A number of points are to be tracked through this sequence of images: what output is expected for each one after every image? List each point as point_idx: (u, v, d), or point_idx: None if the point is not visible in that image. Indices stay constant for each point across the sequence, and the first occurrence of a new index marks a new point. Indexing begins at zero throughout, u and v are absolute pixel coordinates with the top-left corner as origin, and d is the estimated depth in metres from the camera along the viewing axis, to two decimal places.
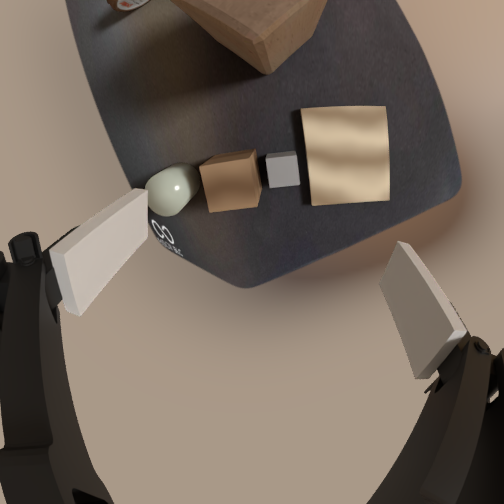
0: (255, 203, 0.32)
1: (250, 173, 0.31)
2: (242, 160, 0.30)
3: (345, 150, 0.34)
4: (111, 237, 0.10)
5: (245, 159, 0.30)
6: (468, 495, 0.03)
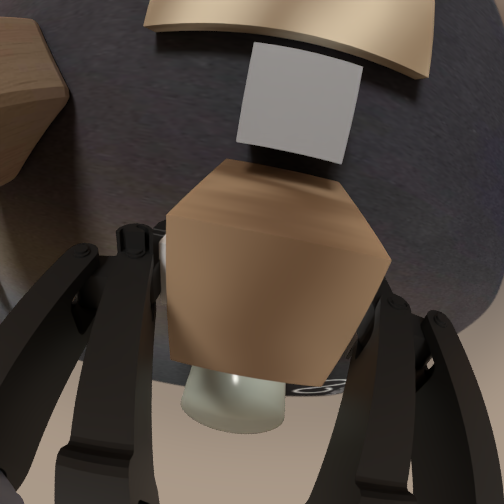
0: (376, 261, 0.07)
1: (235, 231, 0.07)
2: (170, 241, 0.07)
3: None
4: None
5: (170, 228, 0.07)
6: (429, 478, 0.04)
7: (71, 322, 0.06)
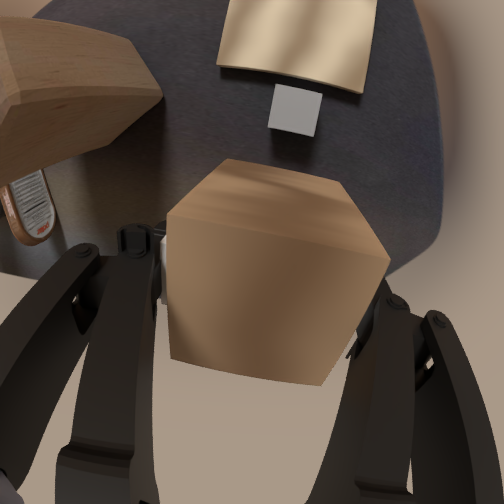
0: (375, 260, 0.07)
1: (235, 230, 0.07)
2: (171, 240, 0.07)
3: (291, 24, 0.18)
4: None
5: (170, 227, 0.07)
6: (428, 478, 0.04)
7: (72, 322, 0.06)
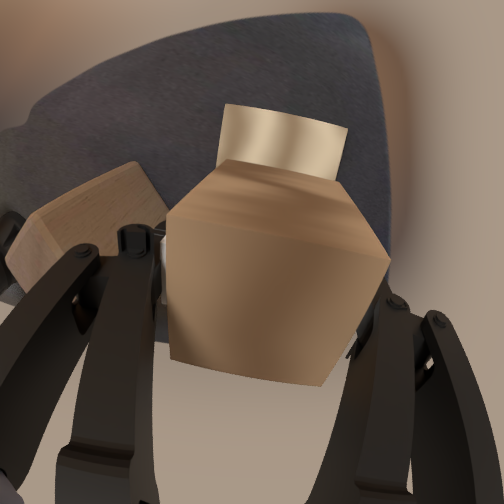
0: (375, 261, 0.07)
1: (235, 231, 0.07)
2: (170, 241, 0.07)
3: None
4: None
5: (170, 228, 0.07)
6: (428, 478, 0.04)
7: (72, 322, 0.06)
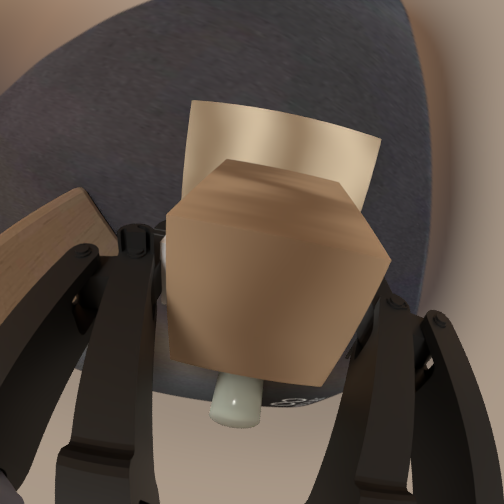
0: (375, 261, 0.07)
1: (235, 231, 0.07)
2: (170, 241, 0.07)
3: None
4: None
5: (170, 228, 0.07)
6: (429, 478, 0.04)
7: (72, 322, 0.06)
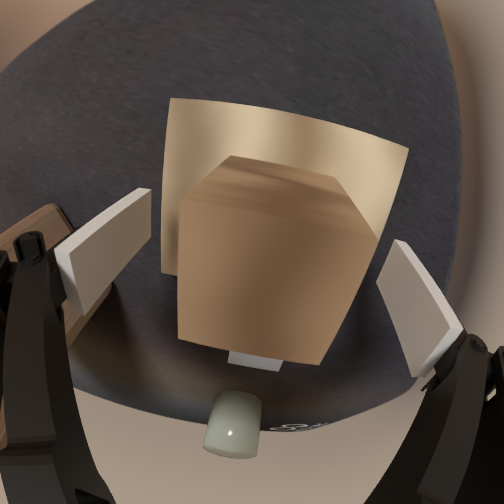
0: (364, 241, 0.08)
1: (241, 214, 0.08)
2: (183, 223, 0.08)
3: None
4: (115, 236, 0.10)
5: (183, 211, 0.08)
6: (467, 494, 0.03)
7: None
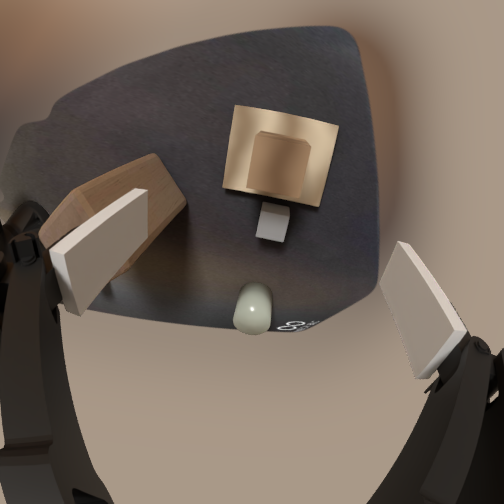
0: (307, 147, 0.27)
1: (272, 139, 0.27)
2: (255, 142, 0.27)
3: None
4: (111, 237, 0.10)
5: (255, 139, 0.27)
6: (468, 495, 0.03)
7: None
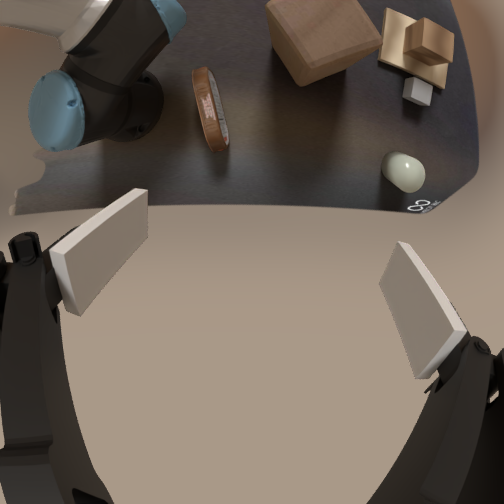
0: (452, 33, 0.22)
1: (433, 22, 0.22)
2: (424, 21, 0.22)
3: None
4: (111, 237, 0.10)
5: (424, 19, 0.22)
6: (468, 495, 0.03)
7: None
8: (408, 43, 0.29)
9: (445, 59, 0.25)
